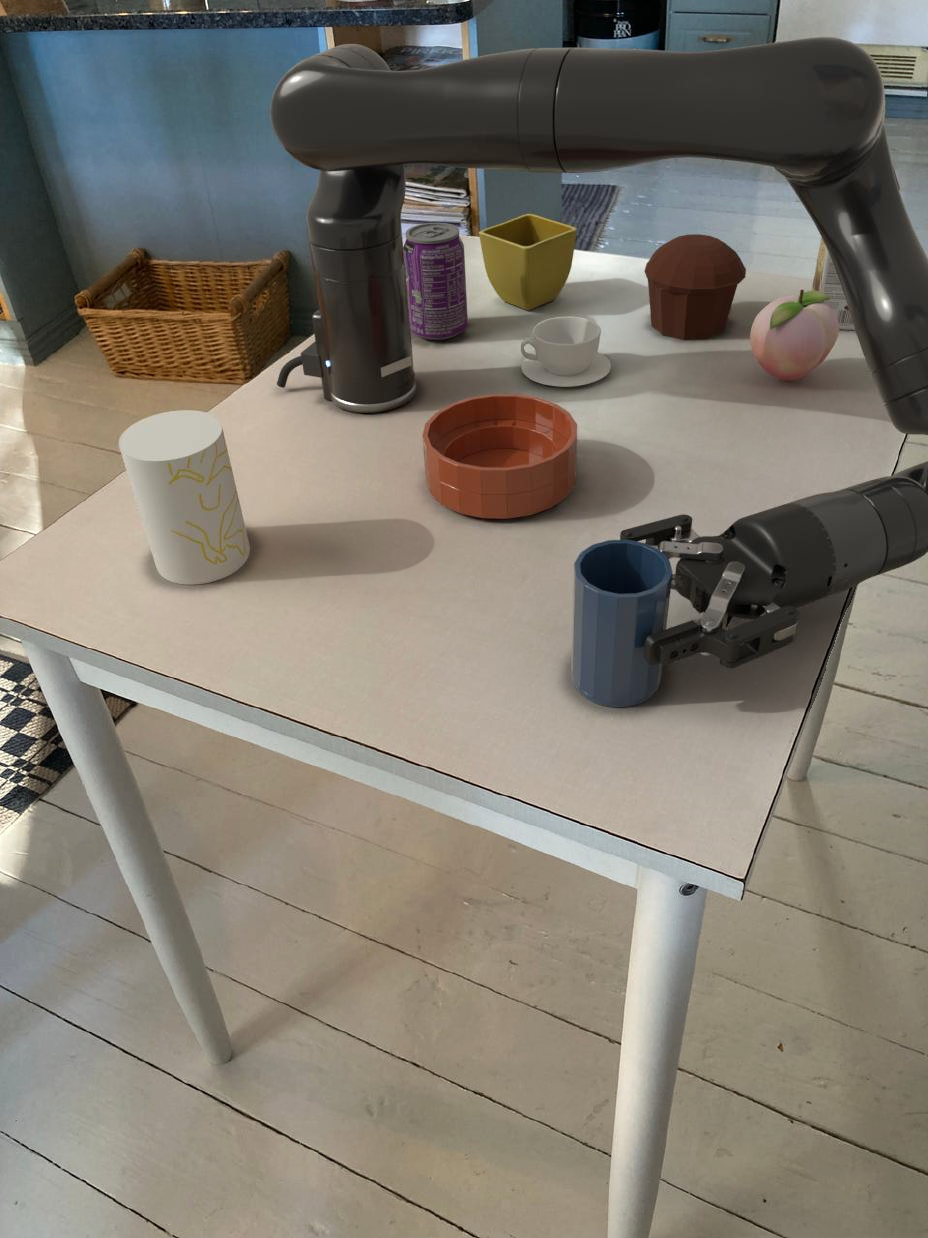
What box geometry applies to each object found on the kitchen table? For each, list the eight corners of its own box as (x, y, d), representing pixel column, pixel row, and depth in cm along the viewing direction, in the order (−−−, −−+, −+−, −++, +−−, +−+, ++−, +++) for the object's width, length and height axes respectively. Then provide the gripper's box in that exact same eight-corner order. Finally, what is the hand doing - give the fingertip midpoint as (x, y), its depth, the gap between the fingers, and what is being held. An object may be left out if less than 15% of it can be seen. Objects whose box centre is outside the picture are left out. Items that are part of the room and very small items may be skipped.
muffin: (621, 322, 120) (625, 238, 114) (685, 297, 125) (693, 216, 119) (693, 354, 113) (702, 266, 106) (759, 326, 118) (772, 241, 111)
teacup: (604, 348, 115) (605, 308, 112) (616, 387, 107) (619, 346, 104) (517, 353, 115) (517, 314, 112) (524, 393, 107) (524, 352, 104)
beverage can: (433, 315, 125) (426, 217, 117) (479, 327, 121) (475, 226, 114) (398, 336, 120) (388, 235, 113) (444, 348, 117) (438, 246, 109)
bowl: (402, 506, 92) (396, 454, 88) (463, 434, 101) (460, 384, 98) (545, 536, 87) (545, 482, 83) (595, 457, 96) (597, 406, 93)
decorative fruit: (770, 354, 112) (784, 266, 105) (839, 373, 107) (858, 282, 101) (727, 386, 106) (739, 294, 100) (798, 407, 102) (815, 313, 96)
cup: (205, 595, 83) (170, 470, 75) (136, 567, 86) (96, 445, 78) (269, 544, 88) (243, 423, 80) (201, 520, 91) (170, 402, 84)
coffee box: (808, 298, 123) (832, 160, 113) (862, 300, 122) (892, 161, 112) (812, 329, 116) (839, 185, 106) (870, 331, 115) (903, 186, 105)
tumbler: (559, 694, 72) (561, 584, 65) (587, 639, 76) (592, 532, 70) (646, 717, 69) (656, 606, 63) (670, 659, 74) (682, 550, 67)
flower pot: (527, 321, 122) (526, 247, 116) (479, 302, 127) (476, 230, 122) (577, 299, 126) (578, 227, 120) (529, 282, 131) (528, 212, 126)
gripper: (751, 463, 76) (565, 519, 72) (883, 561, 66) (676, 634, 61) (738, 543, 81) (563, 600, 76) (860, 645, 71) (666, 719, 66)
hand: (613, 615), depth 69 cm, fingers open, 8 cm apart
